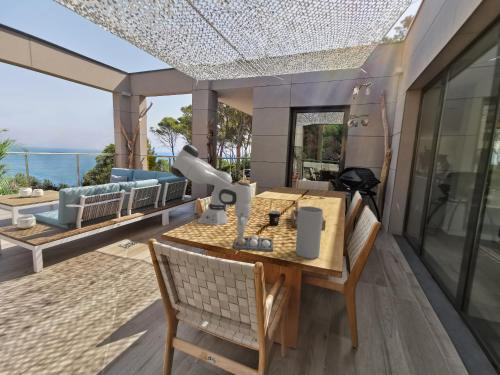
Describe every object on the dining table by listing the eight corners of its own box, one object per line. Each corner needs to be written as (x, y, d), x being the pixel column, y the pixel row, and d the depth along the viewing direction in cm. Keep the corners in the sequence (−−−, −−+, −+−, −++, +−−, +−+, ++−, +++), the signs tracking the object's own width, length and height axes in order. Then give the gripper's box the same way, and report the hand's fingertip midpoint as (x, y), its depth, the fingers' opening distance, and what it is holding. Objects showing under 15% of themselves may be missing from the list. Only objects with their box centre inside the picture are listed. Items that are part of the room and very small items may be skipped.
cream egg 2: (249, 248, 124) (249, 240, 123) (249, 245, 128) (250, 237, 128) (257, 249, 123) (257, 241, 123) (257, 245, 128) (258, 238, 127)
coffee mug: (279, 223, 172) (280, 211, 170) (279, 227, 163) (280, 214, 162) (264, 222, 173) (264, 210, 171) (263, 226, 164) (264, 213, 163)
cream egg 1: (250, 243, 131) (250, 236, 130) (250, 240, 135) (251, 233, 135) (258, 244, 130) (258, 236, 130) (258, 240, 135) (258, 233, 134)
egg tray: (233, 249, 123) (233, 246, 123) (237, 239, 138) (237, 236, 138) (273, 252, 121) (273, 249, 121) (272, 241, 136) (272, 238, 136)
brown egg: (244, 246, 124) (245, 238, 125) (236, 246, 124) (237, 237, 125) (245, 246, 128) (246, 238, 129) (237, 245, 129) (238, 237, 130)
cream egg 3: (261, 249, 123) (261, 241, 123) (261, 245, 128) (262, 238, 127) (269, 249, 123) (270, 242, 122) (269, 246, 127) (270, 238, 127)
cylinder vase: (323, 258, 116) (327, 212, 112) (300, 259, 114) (304, 212, 110) (312, 248, 128) (316, 206, 124) (292, 249, 126) (295, 206, 122)
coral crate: (293, 228, 162) (294, 218, 161) (290, 218, 187) (291, 210, 186) (324, 230, 160) (325, 220, 159) (317, 219, 185) (318, 211, 184)
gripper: (246, 217, 113) (245, 243, 115) (250, 207, 133) (249, 229, 136) (234, 216, 114) (233, 242, 116) (239, 206, 134) (239, 228, 136)
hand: (242, 235), depth 126 cm, fingers open, 8 cm apart
